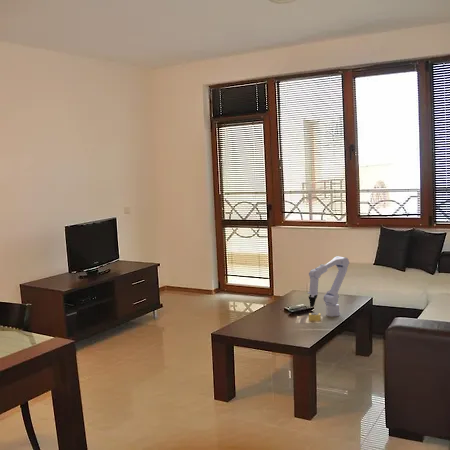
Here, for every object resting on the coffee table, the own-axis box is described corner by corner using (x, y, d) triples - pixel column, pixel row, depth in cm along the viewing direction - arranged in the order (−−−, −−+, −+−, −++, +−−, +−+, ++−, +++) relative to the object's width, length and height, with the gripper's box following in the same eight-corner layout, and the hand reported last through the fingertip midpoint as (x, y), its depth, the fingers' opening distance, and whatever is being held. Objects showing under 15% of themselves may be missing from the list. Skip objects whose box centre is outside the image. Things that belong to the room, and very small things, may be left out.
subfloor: (322, 317, 395) (322, 315, 394) (321, 325, 376) (321, 323, 376) (297, 317, 399) (297, 315, 398) (295, 324, 380) (295, 323, 380)
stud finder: (320, 318, 388) (320, 312, 387) (320, 320, 383) (320, 314, 383) (309, 318, 389) (309, 312, 389) (308, 320, 385) (308, 314, 385)
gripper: (308, 284, 393) (307, 303, 394) (307, 287, 379) (305, 307, 380) (318, 285, 392) (317, 304, 392) (317, 288, 378) (316, 308, 378)
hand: (312, 305), depth 386 cm, fingers open, 7 cm apart
